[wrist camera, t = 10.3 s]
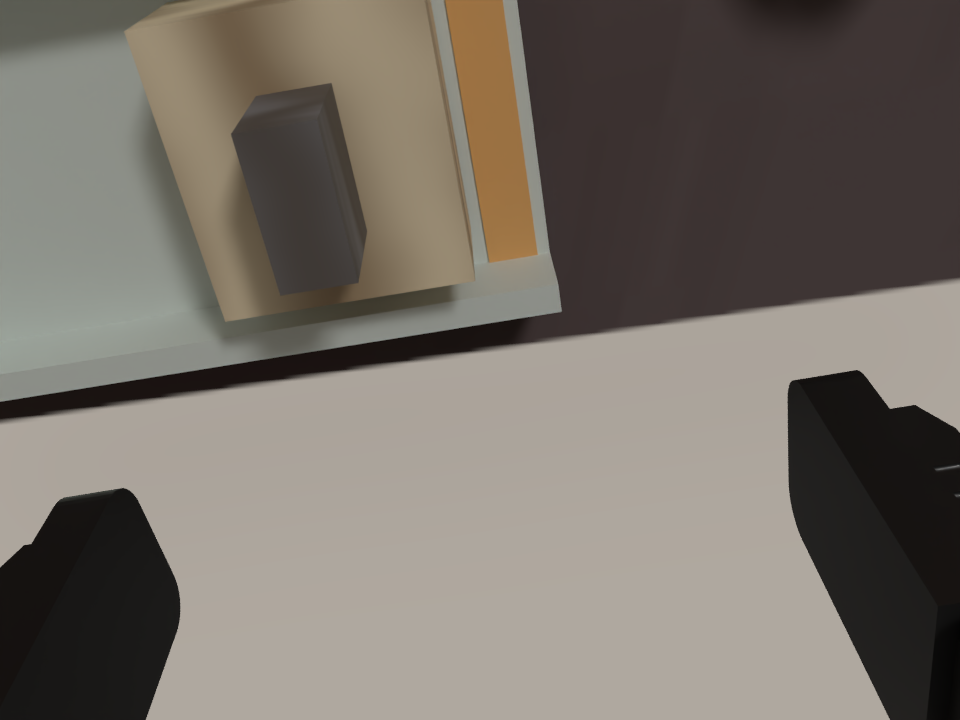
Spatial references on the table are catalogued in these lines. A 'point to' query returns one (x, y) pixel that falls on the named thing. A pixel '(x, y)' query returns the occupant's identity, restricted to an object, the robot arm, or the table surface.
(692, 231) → the table surface
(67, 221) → the bay
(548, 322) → the table surface
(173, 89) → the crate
